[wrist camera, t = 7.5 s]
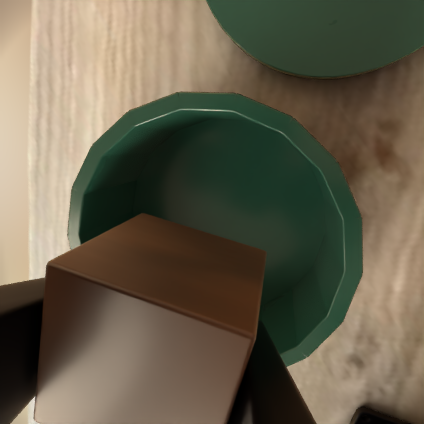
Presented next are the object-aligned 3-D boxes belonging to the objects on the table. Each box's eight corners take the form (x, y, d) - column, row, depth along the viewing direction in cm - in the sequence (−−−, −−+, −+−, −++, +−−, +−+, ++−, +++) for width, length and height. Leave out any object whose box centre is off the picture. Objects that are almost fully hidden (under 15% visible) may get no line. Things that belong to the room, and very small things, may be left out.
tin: (371, 135, 16) (421, 132, 10) (296, 340, 20) (302, 421, 14) (145, 85, 18) (82, 59, 12) (116, 279, 22) (57, 327, 16)
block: (267, 249, 9) (257, 337, 5) (233, 359, 10) (202, 500, 6) (142, 211, 9) (44, 261, 5) (123, 318, 10) (31, 422, 6)
